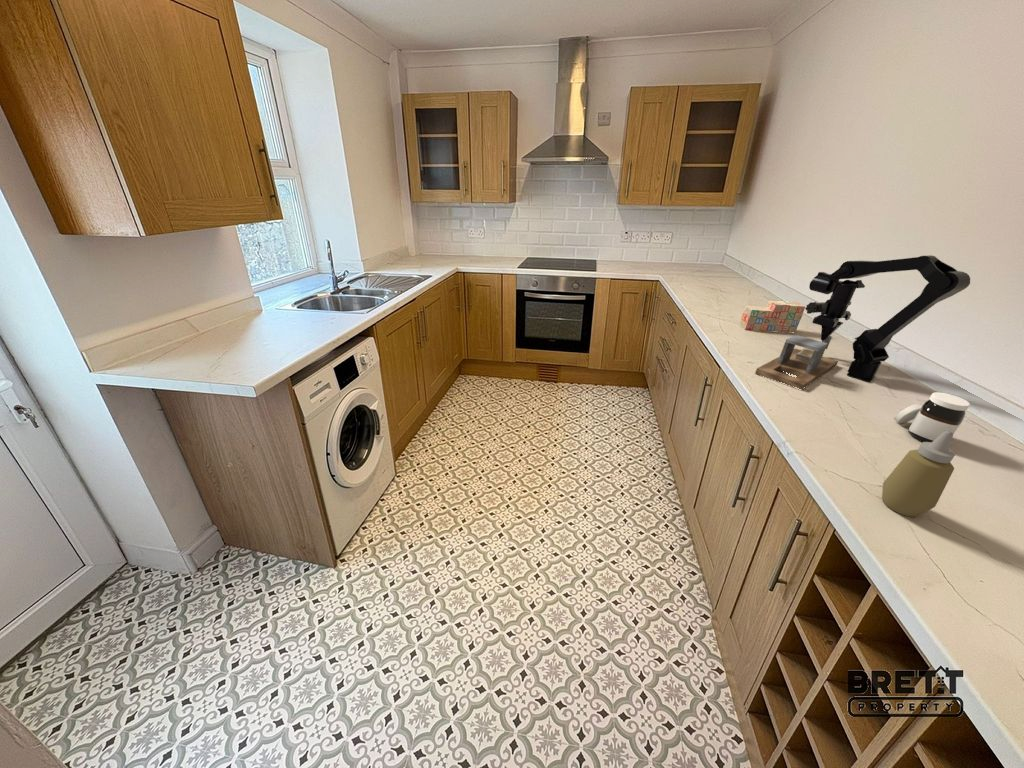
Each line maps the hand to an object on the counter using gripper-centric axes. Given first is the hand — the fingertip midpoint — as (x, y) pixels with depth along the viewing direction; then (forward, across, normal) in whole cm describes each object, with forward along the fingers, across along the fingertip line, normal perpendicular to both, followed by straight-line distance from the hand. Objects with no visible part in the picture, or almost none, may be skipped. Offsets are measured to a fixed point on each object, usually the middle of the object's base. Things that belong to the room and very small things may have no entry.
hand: (822, 340), depth 146 cm
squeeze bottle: (+7, +74, +39) cm, 85 cm away
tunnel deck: (+7, +18, 0) cm, 19 cm away
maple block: (+5, +10, 0) cm, 11 cm away
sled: (+5, +4, 0) cm, 6 cm away
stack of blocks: (+8, -20, -25) cm, 33 cm away
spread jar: (+7, +34, +35) cm, 50 cm away
